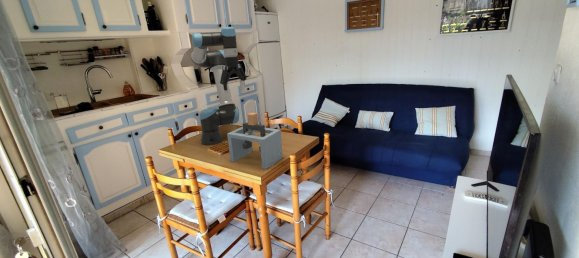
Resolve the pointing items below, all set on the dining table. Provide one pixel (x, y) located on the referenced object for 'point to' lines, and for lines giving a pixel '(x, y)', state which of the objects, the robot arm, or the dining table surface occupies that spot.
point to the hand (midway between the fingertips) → (235, 93)
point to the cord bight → (252, 128)
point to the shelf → (268, 146)
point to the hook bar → (251, 132)
